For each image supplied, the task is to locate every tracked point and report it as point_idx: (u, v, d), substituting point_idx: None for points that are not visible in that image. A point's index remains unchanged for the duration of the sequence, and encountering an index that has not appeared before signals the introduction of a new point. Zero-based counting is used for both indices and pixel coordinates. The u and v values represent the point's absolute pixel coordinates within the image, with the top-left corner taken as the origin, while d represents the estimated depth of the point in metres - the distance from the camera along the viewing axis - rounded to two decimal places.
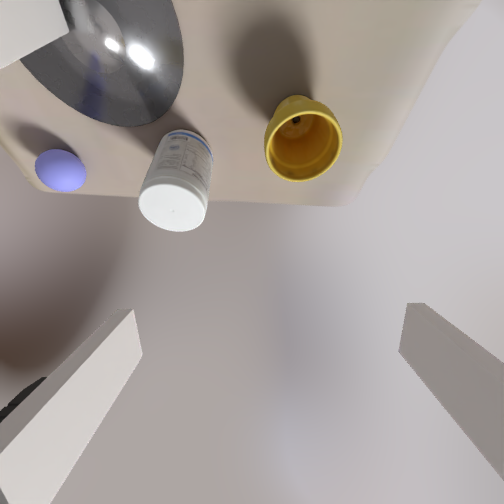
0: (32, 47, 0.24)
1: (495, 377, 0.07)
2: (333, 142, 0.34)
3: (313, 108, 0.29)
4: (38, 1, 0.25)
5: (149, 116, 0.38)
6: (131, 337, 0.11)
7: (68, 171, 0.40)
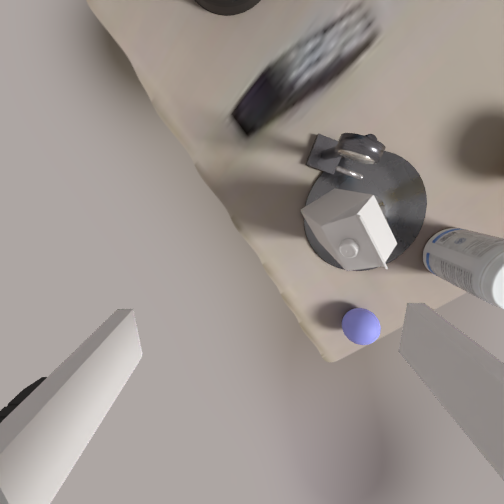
0: None
1: (495, 377, 0.07)
2: None
3: None
4: None
5: (409, 240, 0.45)
6: (131, 337, 0.11)
7: (373, 319, 0.45)
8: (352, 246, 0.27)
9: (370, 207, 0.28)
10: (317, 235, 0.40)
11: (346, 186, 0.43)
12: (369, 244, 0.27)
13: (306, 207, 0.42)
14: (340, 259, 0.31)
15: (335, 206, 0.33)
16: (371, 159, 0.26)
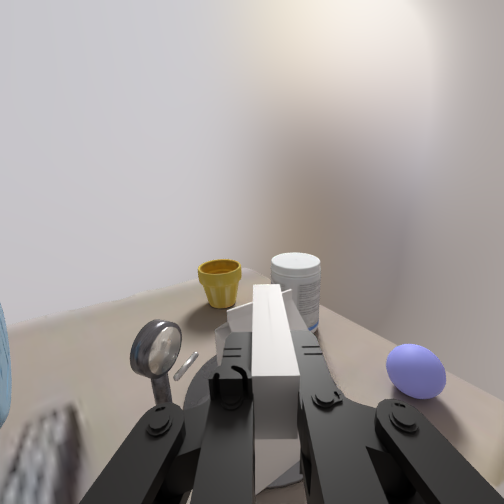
0: None
1: (271, 331, 0.09)
2: (210, 269, 0.62)
3: (199, 272, 0.55)
4: None
5: None
6: None
7: (392, 353, 0.35)
8: None
9: (226, 324, 0.24)
10: None
11: None
12: None
13: None
14: None
15: None
16: (170, 326, 0.23)
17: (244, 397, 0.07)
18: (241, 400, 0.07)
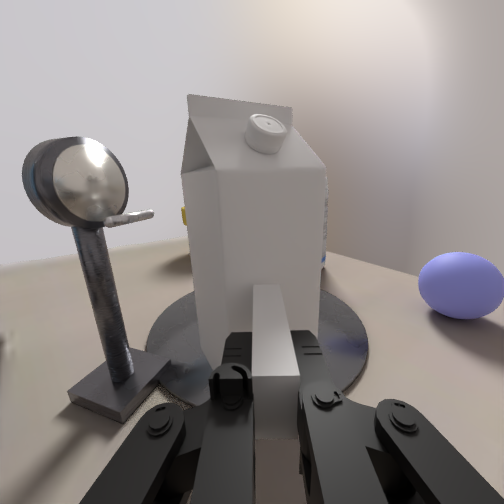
0: None
1: (271, 331, 0.09)
2: None
3: (182, 210, 0.46)
4: None
5: None
6: None
7: (427, 265, 0.26)
8: (255, 115, 0.13)
9: None
10: None
11: None
12: None
13: None
14: (301, 168, 0.14)
15: (201, 242, 0.15)
16: (104, 152, 0.14)
17: (244, 397, 0.07)
18: (241, 400, 0.07)
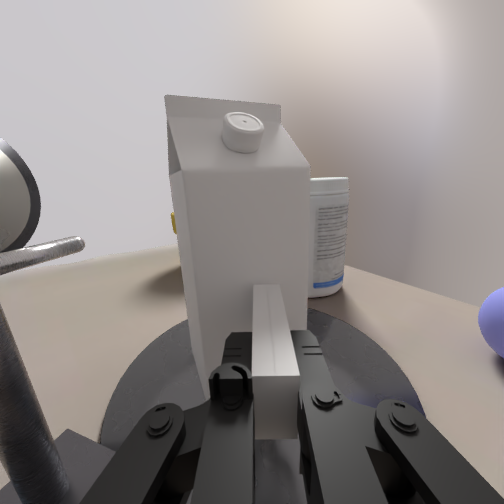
0: None
1: (271, 331, 0.09)
2: None
3: (172, 216, 0.39)
4: None
5: None
6: None
7: (496, 298, 0.19)
8: (231, 113, 0.13)
9: None
10: None
11: None
12: None
13: (204, 388, 0.16)
14: (281, 167, 0.13)
15: (182, 244, 0.15)
16: None
17: (244, 397, 0.07)
18: (241, 400, 0.07)
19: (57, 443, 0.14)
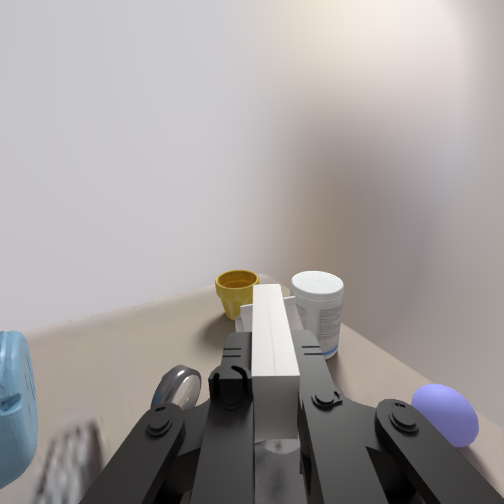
0: None
1: (271, 331, 0.09)
2: (227, 279, 0.61)
3: (217, 285, 0.54)
4: None
5: None
6: None
7: (419, 393, 0.33)
8: None
9: None
10: None
11: None
12: None
13: None
14: None
15: None
16: (191, 375, 0.22)
17: (244, 397, 0.07)
18: (241, 400, 0.07)
19: None
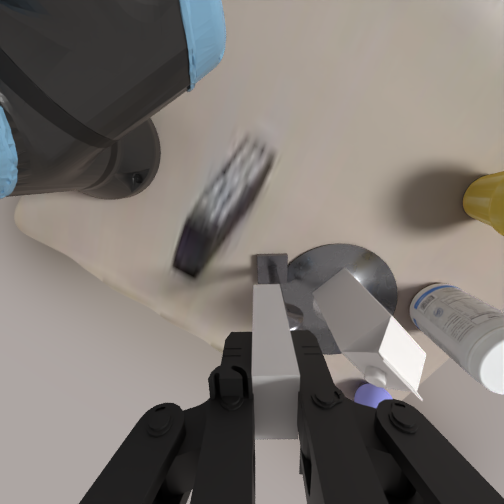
0: None
1: (271, 331, 0.09)
2: None
3: None
4: None
5: (390, 309, 0.43)
6: None
7: (382, 400, 0.43)
8: (379, 379, 0.26)
9: (391, 333, 0.26)
10: None
11: (304, 286, 0.42)
12: (397, 375, 0.25)
13: (318, 292, 0.41)
14: None
15: (350, 313, 0.31)
16: None
17: (244, 397, 0.07)
18: (241, 400, 0.07)
19: (282, 257, 0.40)
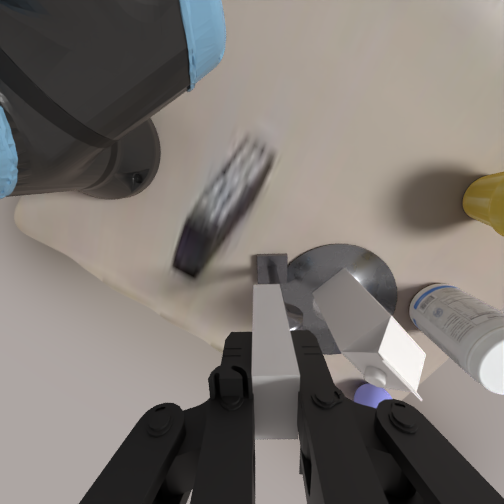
0: None
1: (271, 331, 0.09)
2: None
3: None
4: None
5: (390, 309, 0.43)
6: None
7: None
8: (379, 379, 0.26)
9: (390, 333, 0.26)
10: None
11: (304, 286, 0.42)
12: (397, 375, 0.25)
13: (318, 292, 0.41)
14: None
15: (350, 313, 0.31)
16: None
17: (244, 397, 0.07)
18: (241, 400, 0.07)
19: (282, 257, 0.40)
